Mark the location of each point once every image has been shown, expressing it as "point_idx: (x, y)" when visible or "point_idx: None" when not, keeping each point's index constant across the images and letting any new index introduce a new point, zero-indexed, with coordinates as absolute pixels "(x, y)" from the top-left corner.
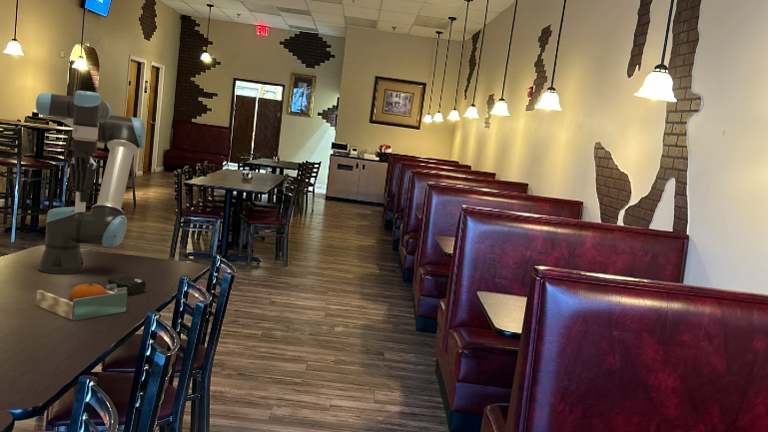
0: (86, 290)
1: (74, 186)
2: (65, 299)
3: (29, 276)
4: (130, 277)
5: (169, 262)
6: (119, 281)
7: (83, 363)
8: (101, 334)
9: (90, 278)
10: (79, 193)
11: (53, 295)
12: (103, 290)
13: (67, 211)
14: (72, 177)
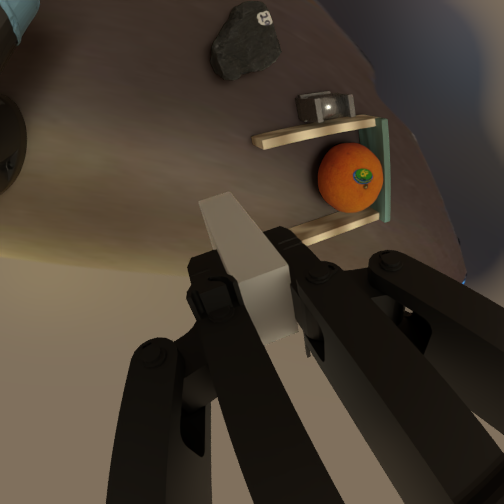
0: (376, 196)
1: (206, 398)
2: (353, 222)
3: (38, 220)
4: (249, 27)
5: None
6: (260, 62)
7: (452, 236)
8: (419, 195)
9: (73, 85)
10: (294, 319)
11: (324, 234)
12: (379, 163)
13: None
14: (205, 502)
